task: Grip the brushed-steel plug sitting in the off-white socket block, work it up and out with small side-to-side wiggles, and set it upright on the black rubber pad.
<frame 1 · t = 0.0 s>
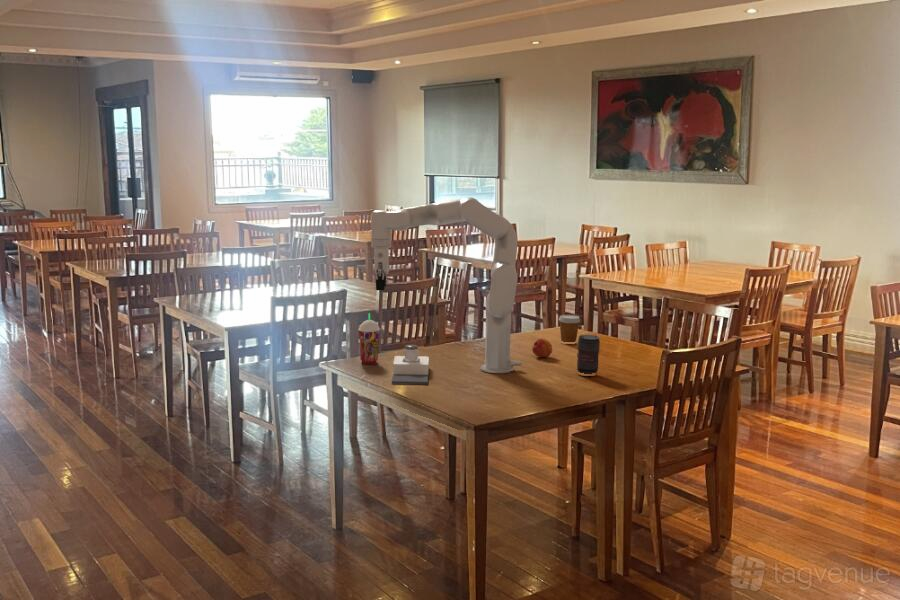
hand: (380, 288, 333), 31 cm above the table, tool pointing down, fingers open, 9 cm apart
fruit: (542, 357, 361), on the table
disposable coffee cup: (568, 343, 389), on the table
socket block: (411, 371, 333), on the table
rubber pad: (410, 380, 320), on the table
steel plug: (411, 359, 332), in the socket block
smoothie: (369, 363, 346), on the table
camera lens: (587, 375, 333), on the table
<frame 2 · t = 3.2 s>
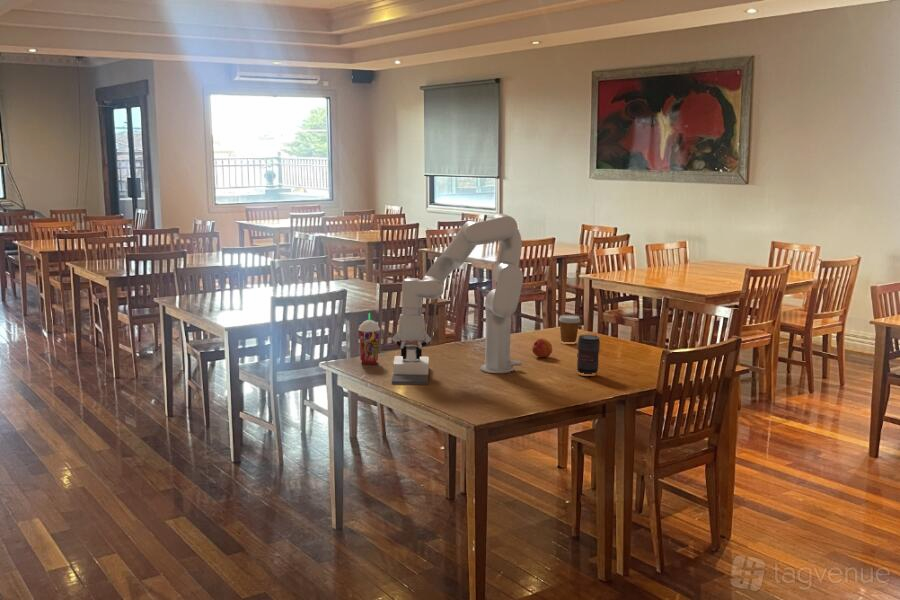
hand: (411, 357, 332), 5 cm above the table, tool pointing down, fingers closed on steel plug, 5 cm apart
steel plug: (411, 359, 332), in the socket block, touching gripper
everything else where it was.
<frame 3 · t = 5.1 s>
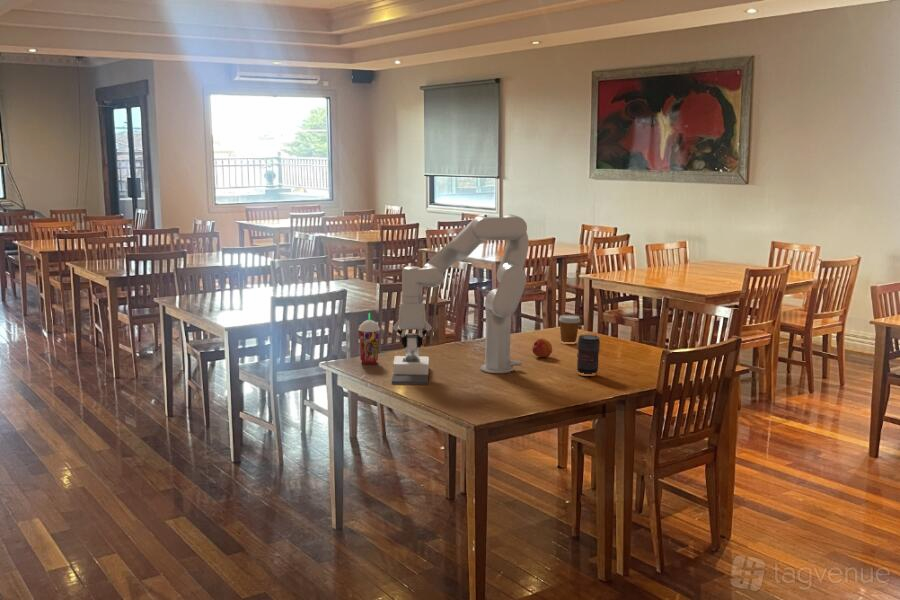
hand: (412, 346, 332), 10 cm above the table, tool pointing down, fingers closed on steel plug, 5 cm apart
steel plug: (412, 347, 332), point 9 cm above the table, touching gripper
everything else where it was.
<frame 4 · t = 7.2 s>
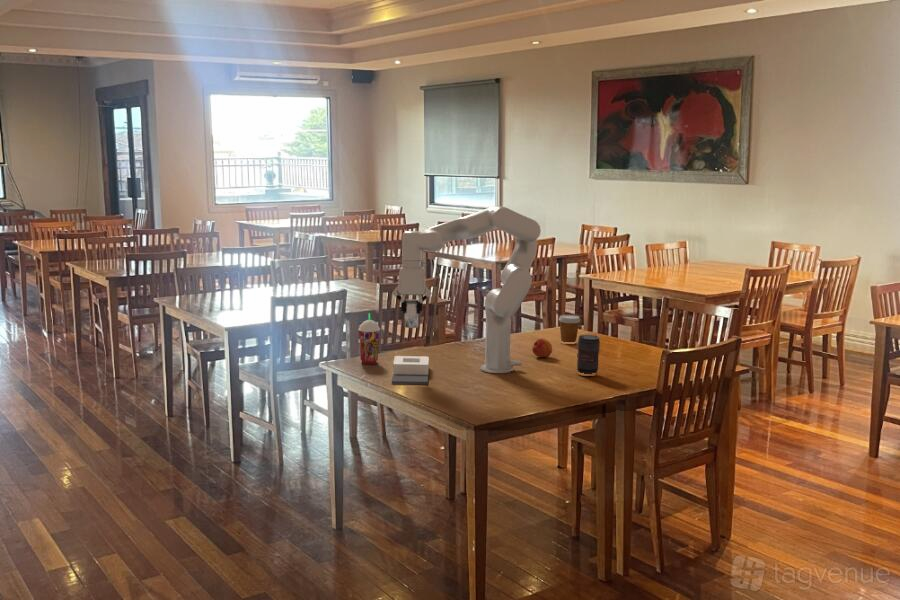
hand: (411, 312, 327), 23 cm above the table, tool pointing down, fingers closed on steel plug, 5 cm apart
steel plug: (411, 313, 327), point 23 cm above the table, touching gripper
everything else where it was.
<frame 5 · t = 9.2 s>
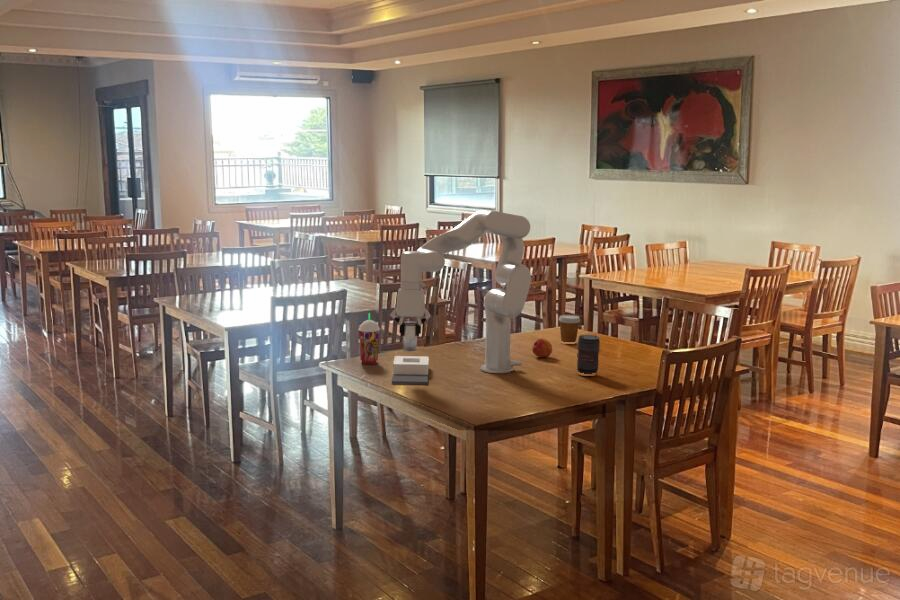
hand: (410, 334, 317), 17 cm above the table, tool pointing down, fingers closed on steel plug, 5 cm apart
steel plug: (410, 336, 318), point 17 cm above the table, touching gripper
everything else where it was.
when the fingers open (8 cm above the table, at t = 11.2 s): steel plug drops 1 cm, resting on rubber pad.
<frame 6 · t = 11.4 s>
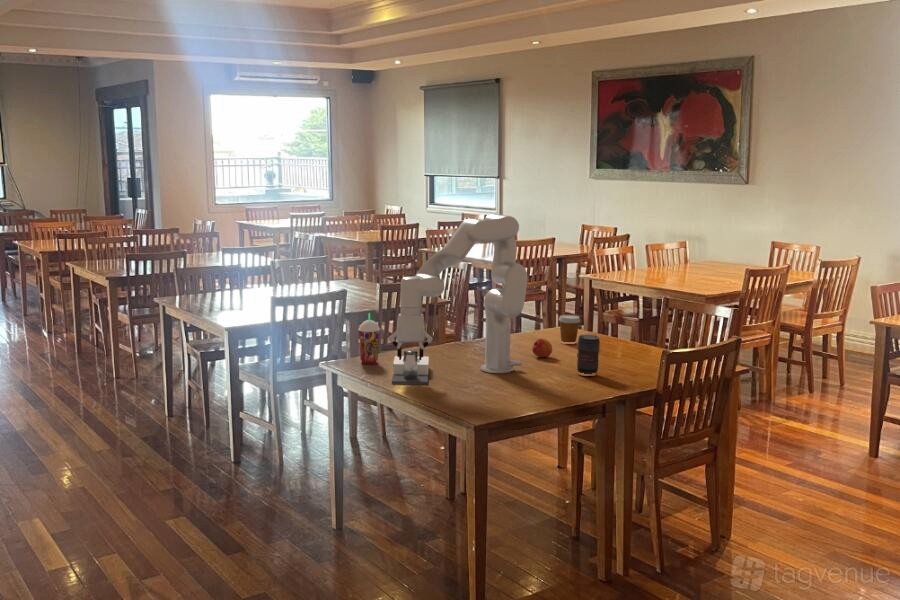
hand: (410, 358, 319), 8 cm above the table, tool pointing down, fingers open, 6 cm apart
steel plug: (410, 364, 319), on the rubber pad, point 6 cm above the table
everything else where it was.
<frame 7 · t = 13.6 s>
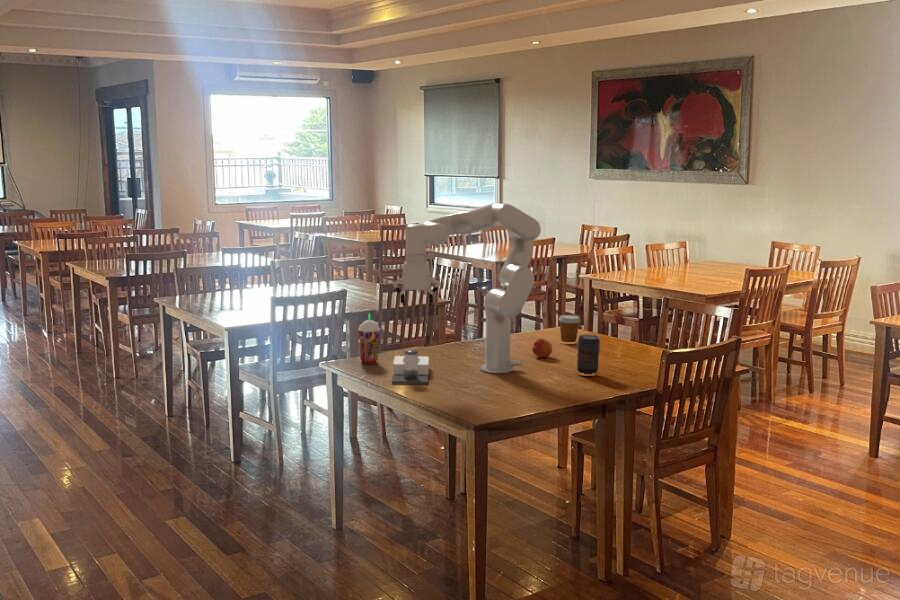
hand: (416, 305, 320), 27 cm above the table, tool pointing down, fingers open, 9 cm apart
nothing on the table moved.
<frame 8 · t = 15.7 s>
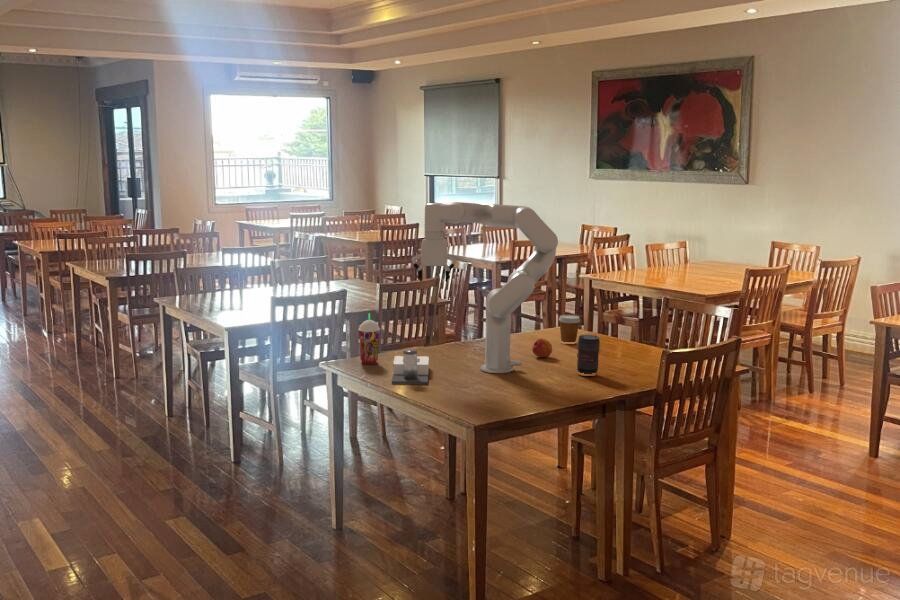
hand: (433, 281, 333), 34 cm above the table, tool pointing down, fingers open, 9 cm apart
nothing on the table moved.
at the end: steel plug inside the target area on the rubber pad (0.1 cm from its centre), point 6.1 cm above the rubber pad's base; steel plug tilted 2°; the gripper is holding nothing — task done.
